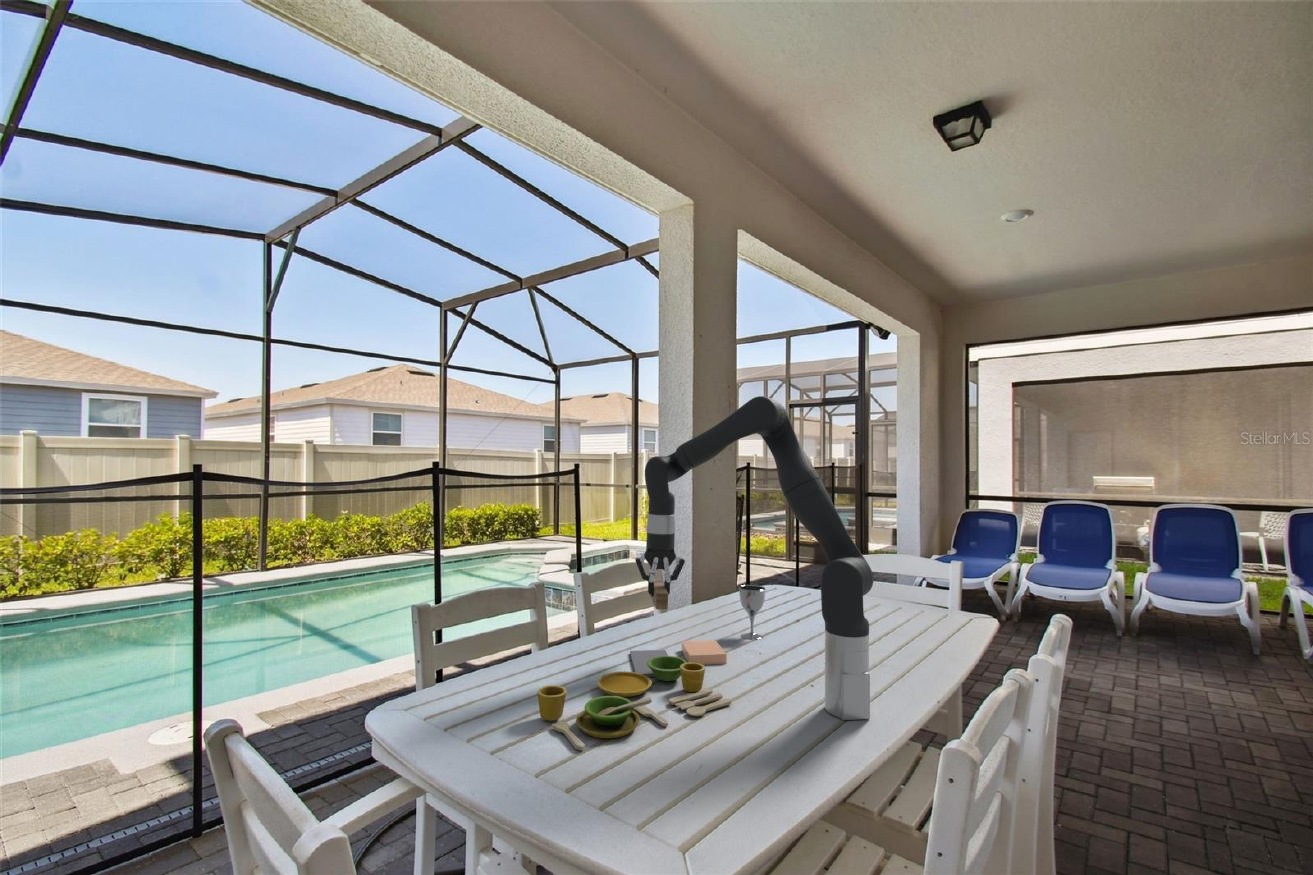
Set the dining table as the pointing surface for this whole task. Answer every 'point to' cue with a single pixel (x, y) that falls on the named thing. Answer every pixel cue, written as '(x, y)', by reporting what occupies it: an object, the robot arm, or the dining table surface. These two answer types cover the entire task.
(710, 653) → the terracotta tile
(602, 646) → the dining table surface
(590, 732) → the tableware set
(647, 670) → the rubber mat
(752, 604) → the wine glass
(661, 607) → the walnut stick
